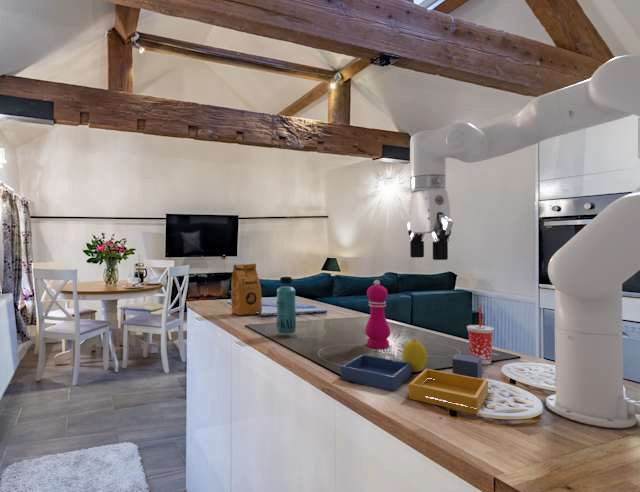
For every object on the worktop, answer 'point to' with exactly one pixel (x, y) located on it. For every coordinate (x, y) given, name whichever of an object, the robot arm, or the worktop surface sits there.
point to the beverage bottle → (286, 307)
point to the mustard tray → (449, 390)
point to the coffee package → (245, 290)
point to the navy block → (467, 366)
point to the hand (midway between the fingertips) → (428, 258)
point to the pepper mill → (377, 317)
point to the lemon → (415, 355)
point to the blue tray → (376, 372)
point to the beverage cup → (481, 341)
